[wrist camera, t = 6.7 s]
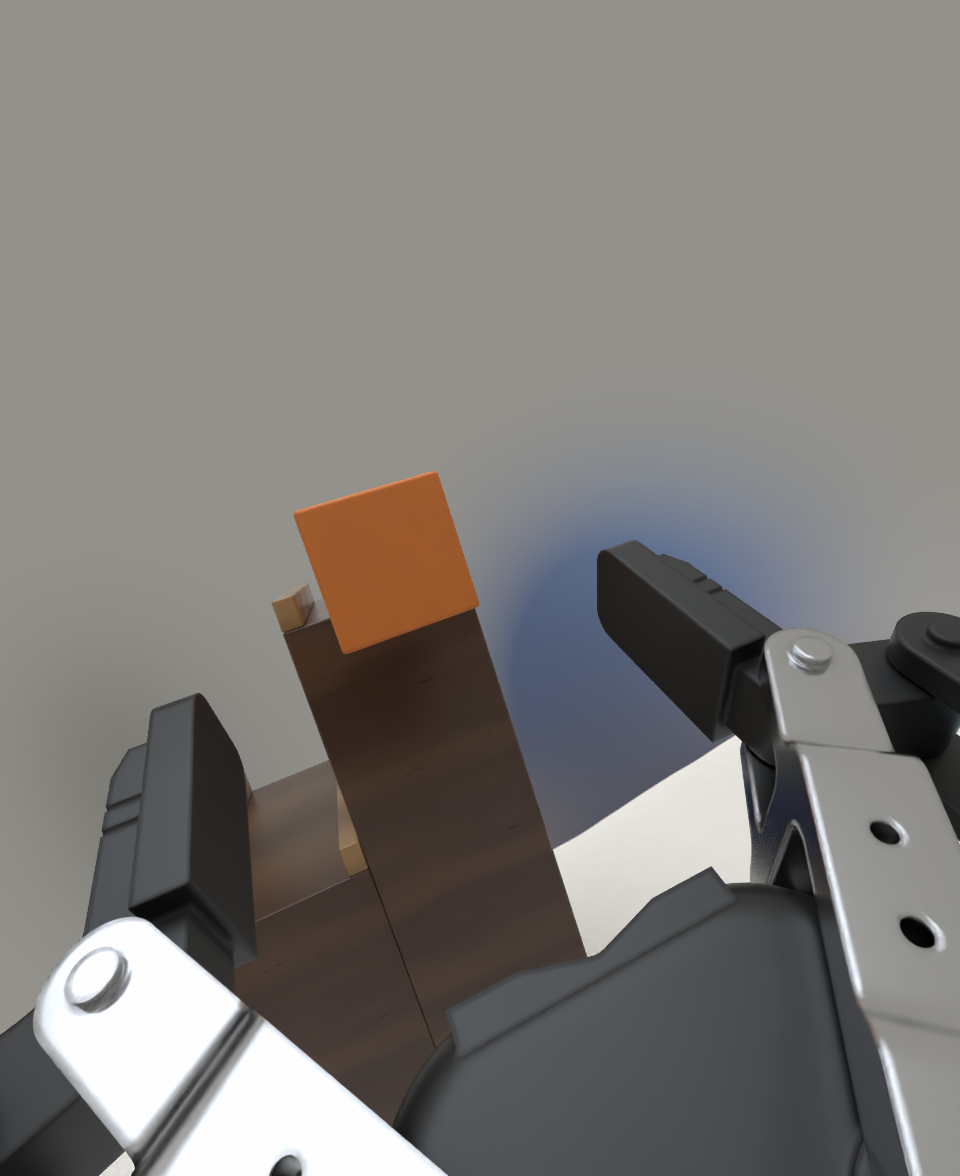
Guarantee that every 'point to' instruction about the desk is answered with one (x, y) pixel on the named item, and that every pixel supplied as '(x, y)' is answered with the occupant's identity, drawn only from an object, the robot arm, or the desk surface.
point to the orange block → (387, 560)
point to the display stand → (396, 854)
